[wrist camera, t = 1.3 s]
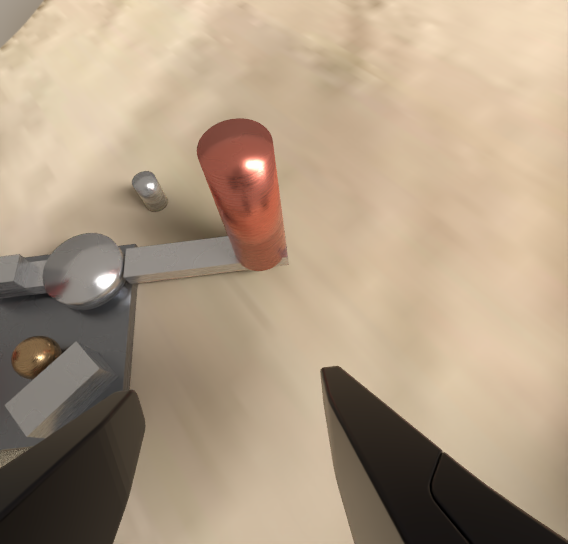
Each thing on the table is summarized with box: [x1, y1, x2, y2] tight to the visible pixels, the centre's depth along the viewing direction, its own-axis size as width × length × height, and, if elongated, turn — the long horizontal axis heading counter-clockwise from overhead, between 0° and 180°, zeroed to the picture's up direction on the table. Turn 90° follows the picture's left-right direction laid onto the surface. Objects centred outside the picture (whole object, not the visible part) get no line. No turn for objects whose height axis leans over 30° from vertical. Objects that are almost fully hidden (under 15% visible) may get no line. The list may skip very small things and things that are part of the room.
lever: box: [0, 119, 289, 310], centre depth 20 cm, size 19×5×9 cm, turn 96°
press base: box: [0, 171, 168, 451], centre depth 24 cm, size 11×17×3 cm
